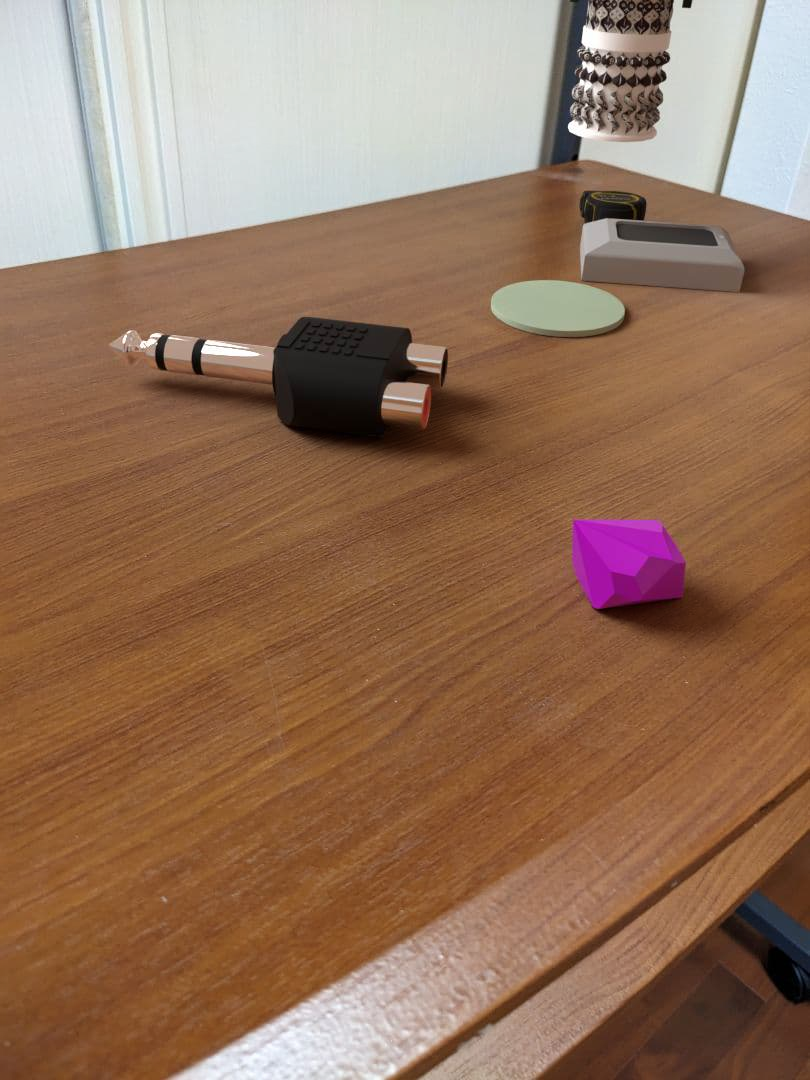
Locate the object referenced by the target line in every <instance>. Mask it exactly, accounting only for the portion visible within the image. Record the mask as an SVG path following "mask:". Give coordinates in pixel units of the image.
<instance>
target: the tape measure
mask: <svg viewBox="0 0 810 1080" xmlns="http://www.w3.org/2000/svg"><path fill="white" fill-rule="evenodd" d="M581 194H582V195H581V197H580V198H579V205H578V207H579V214H580V217H581V218H583V223H584V224H586V223H590V222H594V221H598V220H602V219H606V218H609V219H624V220H639V221H645V218H646V213H647V199H646V198H645V197H644V196H642V195H639V194H637V193H634V192H633V193H632V192H628V191H621V190H620V191H619V190H584V191H583V192H582V193H581Z"/></svg>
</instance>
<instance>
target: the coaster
mask: <svg viewBox="0 0 810 1080" xmlns="http://www.w3.org/2000/svg"><path fill="white" fill-rule="evenodd" d="M490 309H491V312H492V314H493V316H495V317H496V318H497V320H499V321H500V322H502V323H504V324H505V325H507V326H510V327H512V328H514V329H517V330H520V331H523V332H527V333H531V334H535V335H540V336H541V335H542V336H546V337H547V336H548V337H555V338H585V337H592V336H593V337H594V336H597V335H602V334H605V333H608V332H611V331H613V330H615V329H617V328H619V326H621V324H622V323H623V321H624V319H625V315H626V308H625V305H624V303H623V302H622V301H621V300H620V299H619V298H617V297H616V296H615V295H613V294H612V293H610V292H608V291H605V290H603V289H600V288H598V287H595V286H592V285H587V284H584V283H579V282H573V281H568V280H567V281H566V280H557V279H556V280H554V279H537V280H534V279H533V280H525V281H520V282H519V281H518V282H515V283H511V284H508V285H505V286H503V287H501V288H499V289H497V291H496V292H494V293H493V295H492V297H491V299H490Z"/></svg>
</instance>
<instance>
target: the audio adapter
mask: <svg viewBox="0 0 810 1080" xmlns="http://www.w3.org/2000/svg"><path fill="white" fill-rule="evenodd" d="M107 346H108V349H109V350H110V351H111V352H113V354H114V355H115V356H117V358H119V359H120V360H121V362H122V363H124V364H125V365H126V366H128V368H129V367H130V368H134V367H135V366H137V365H138V364H139V362H140V361H141V360H145V362H146V364H147V366H148V367H149V368H150V369H151V370H153V371H161V372H164V371H165V372H170V373H176V374H184V375H192V376H204V377H208V378H215V379H222V380H223V379H224V380H230V381H239V382H247V383H254V384H255V383H256V384H263V385H271V386H272V390H273V394H274V396H275V400H276V412H277V413H276V414H277V418H278V417H279V419H280V420H281V422H282V423H281V422H280V423H281V424H283V425H285V426H294V427H301V428H308V429H316V430H324V431H331V432H338V433H345V434H352V435H359V436H367V437H374V438H383V437H384V435H385V434H386V433H387V430H388V428H389V427H398V428H405V429H412V430H419V431H424V430H425V429H426V428H427V425H428V422H429V419H430V414H431V413H430V412H431V406H432V389H436V390H442V389H443V388H444V387H445V384H446V380H447V375H448V368H449V367H448V366H449V348H448V347H447V346H443V345H442V346H441V345H432V344H423V343H416V342H413V335H412V331H411V329H410V328H409V327H402V326H392V325H385V324H384V325H383V324H376V323H366V322H358V321H348V320H341V319H331V318H323V317H313V316H302V317H300V318H299V319H297V321H296V322H295V323H294V324H293V326H291V328H290V329H289V330H288V332H286V333H284V334H282V336H280V337H279V339H278V342H277V344H276V346H275V347H274V346H266V345H257V344H251V343H250V344H249V343H241V342H233V341H225V340H216V339H204V338H200V337H192V336H184V335H183V336H182V335H174V334H172V335H170V334H166V333H158V332H155V333H153V334H150V336H149V337H148V339H147V340H143V339H142V337H141V335H140V333H139V332H138V331H137V330H134V329H131V330H129V331H127V332H125V333H124V334H122V335H121V336H119V337H117V338H116V339H114V340H112V341H110V342H109V344H108V345H107Z"/></svg>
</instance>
